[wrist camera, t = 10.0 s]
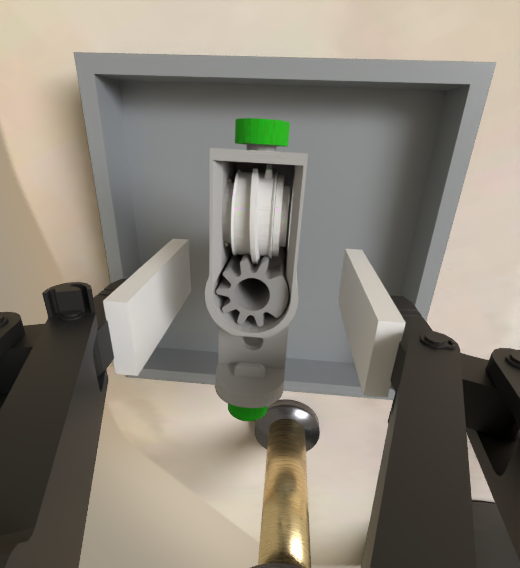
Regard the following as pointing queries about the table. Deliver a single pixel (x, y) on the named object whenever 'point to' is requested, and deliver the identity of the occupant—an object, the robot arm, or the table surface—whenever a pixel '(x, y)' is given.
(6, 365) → the robot arm
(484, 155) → the table surface
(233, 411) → the mechanical component
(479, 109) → the parts tray
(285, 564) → the bobbin
